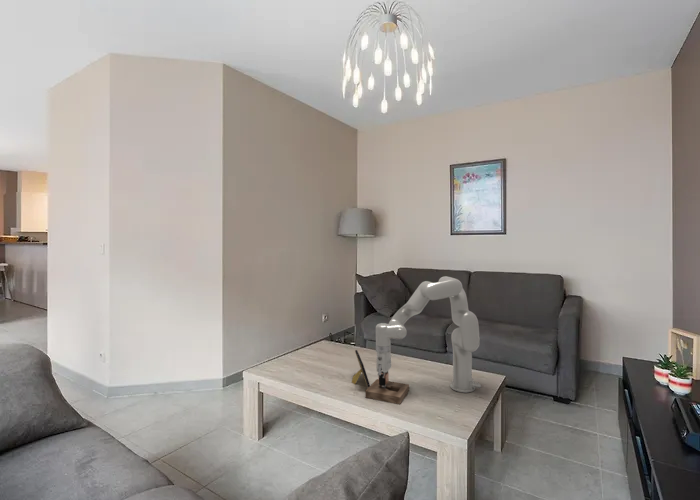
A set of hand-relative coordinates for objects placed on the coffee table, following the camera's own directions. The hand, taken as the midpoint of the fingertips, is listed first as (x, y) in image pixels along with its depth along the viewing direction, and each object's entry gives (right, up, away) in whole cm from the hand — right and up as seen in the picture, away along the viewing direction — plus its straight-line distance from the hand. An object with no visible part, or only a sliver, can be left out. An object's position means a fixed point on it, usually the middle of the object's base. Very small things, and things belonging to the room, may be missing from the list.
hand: (383, 383), depth 180 cm
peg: (0, -5, 0) cm, 5 cm away
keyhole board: (+2, -5, -1) cm, 6 cm away
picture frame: (-12, -5, +14) cm, 19 cm away
